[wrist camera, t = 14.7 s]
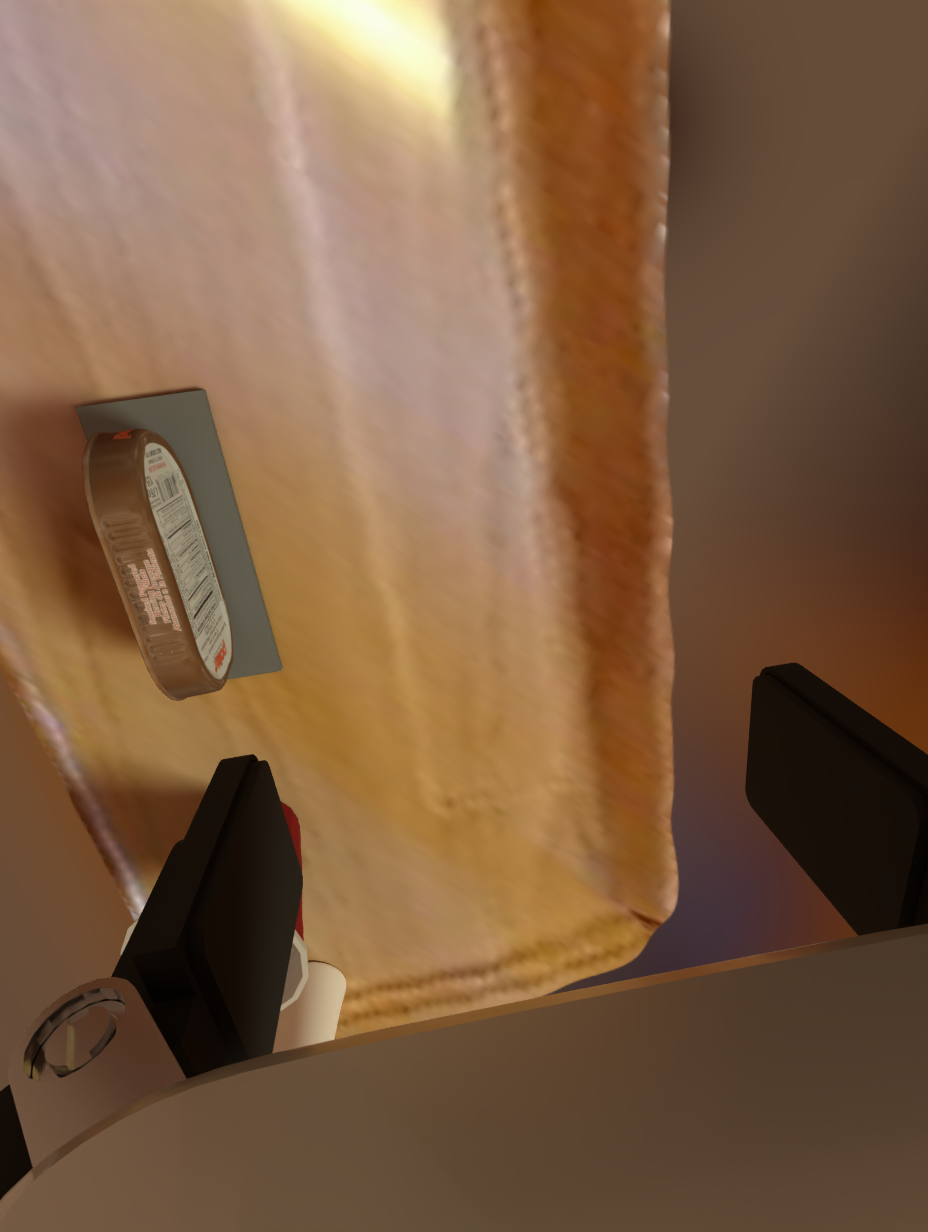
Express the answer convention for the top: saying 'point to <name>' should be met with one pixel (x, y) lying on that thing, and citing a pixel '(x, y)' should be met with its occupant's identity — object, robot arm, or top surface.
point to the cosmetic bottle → (312, 1010)
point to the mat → (204, 510)
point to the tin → (159, 560)
